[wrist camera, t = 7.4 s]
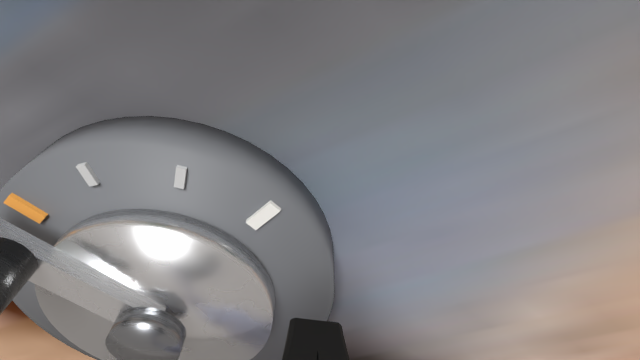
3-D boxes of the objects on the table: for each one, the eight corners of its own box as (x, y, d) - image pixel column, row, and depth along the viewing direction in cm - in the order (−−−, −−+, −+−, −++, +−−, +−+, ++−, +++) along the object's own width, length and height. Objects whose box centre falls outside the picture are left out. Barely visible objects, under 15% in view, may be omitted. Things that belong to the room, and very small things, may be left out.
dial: (320, 295, 20) (317, 412, 15) (194, 379, 24) (163, 489, 20) (38, 108, 14) (-100, 202, 10) (-56, 260, 19) (-182, 374, 14)
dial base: (292, 362, 28) (288, 401, 26) (37, 317, 26) (9, 355, 23) (379, 170, 19) (386, 205, 17) (-5, 69, 16) (-57, 94, 14)
